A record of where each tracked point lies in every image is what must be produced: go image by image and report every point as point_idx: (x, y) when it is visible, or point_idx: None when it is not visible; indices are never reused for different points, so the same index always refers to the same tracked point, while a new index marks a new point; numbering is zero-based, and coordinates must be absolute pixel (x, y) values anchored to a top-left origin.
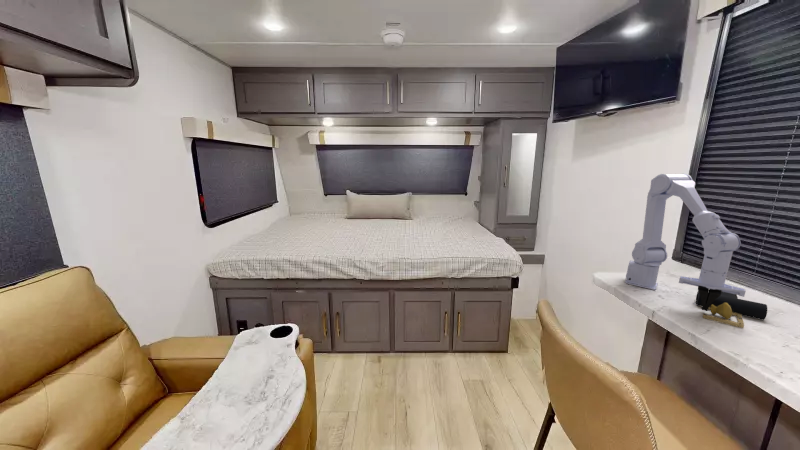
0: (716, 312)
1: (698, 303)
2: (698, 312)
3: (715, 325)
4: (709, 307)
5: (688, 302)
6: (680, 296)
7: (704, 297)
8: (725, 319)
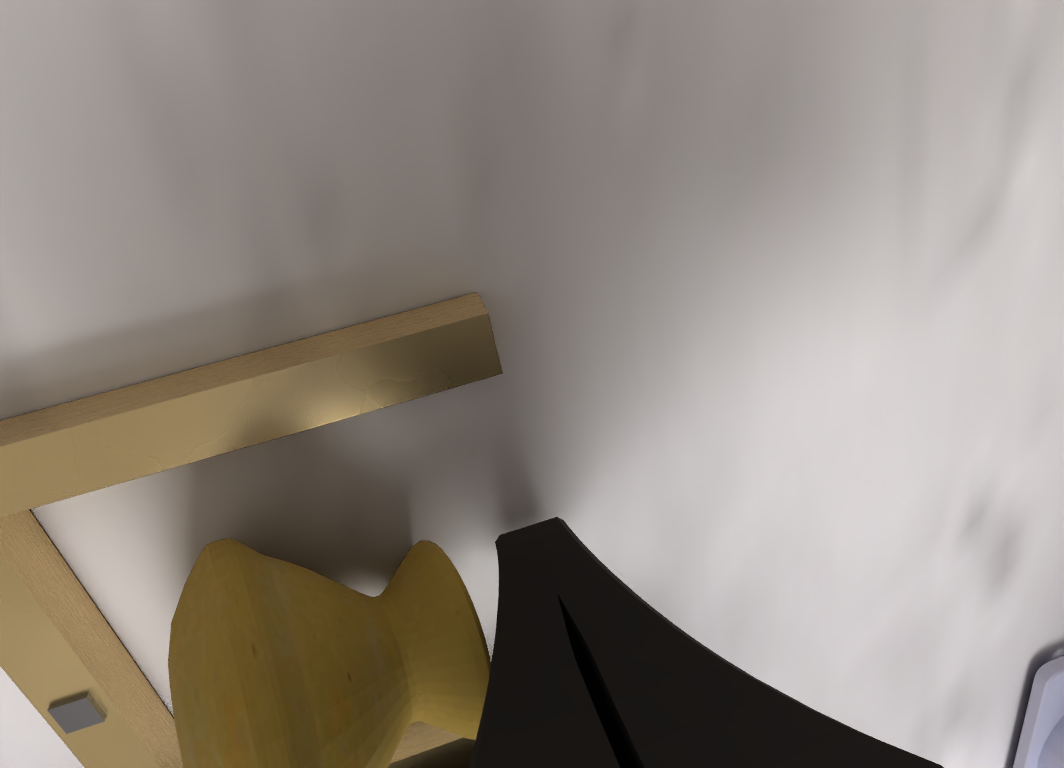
0: (377, 598)
1: None
2: (572, 465)
3: (213, 105)
4: None
5: None
6: None
7: (681, 709)
8: (180, 464)
